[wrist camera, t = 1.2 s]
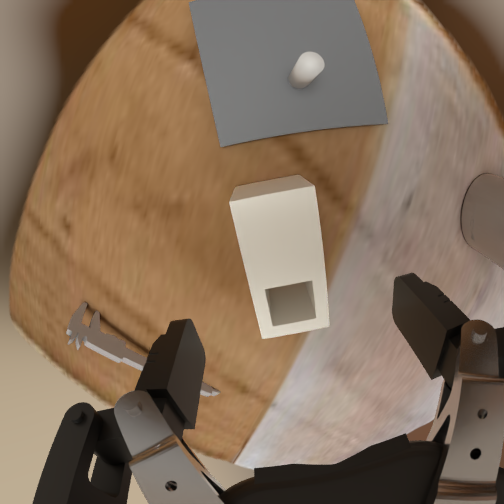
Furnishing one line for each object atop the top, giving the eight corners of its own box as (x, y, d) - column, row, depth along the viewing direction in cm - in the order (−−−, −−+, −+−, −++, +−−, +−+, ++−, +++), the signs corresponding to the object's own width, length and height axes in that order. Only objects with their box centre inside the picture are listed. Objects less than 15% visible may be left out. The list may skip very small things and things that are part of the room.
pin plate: (344, -9, 15) (366, -39, 9) (382, 124, 20) (420, 122, 14) (191, 7, 16) (174, -26, 10) (222, 147, 21) (211, 148, 15)
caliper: (83, 304, 28) (57, 336, 22) (85, 299, 27) (59, 330, 21) (216, 393, 33) (211, 431, 27) (221, 389, 32) (216, 428, 27)
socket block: (299, 174, 22) (314, 185, 16) (315, 288, 26) (329, 326, 21) (235, 186, 22) (228, 202, 17) (260, 299, 26) (262, 339, 21)
